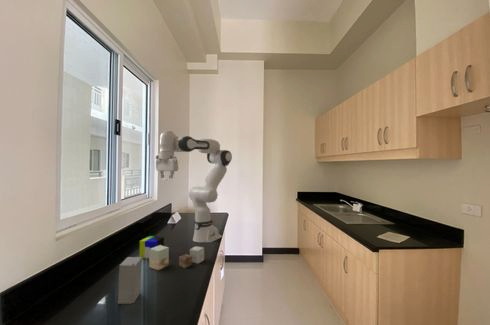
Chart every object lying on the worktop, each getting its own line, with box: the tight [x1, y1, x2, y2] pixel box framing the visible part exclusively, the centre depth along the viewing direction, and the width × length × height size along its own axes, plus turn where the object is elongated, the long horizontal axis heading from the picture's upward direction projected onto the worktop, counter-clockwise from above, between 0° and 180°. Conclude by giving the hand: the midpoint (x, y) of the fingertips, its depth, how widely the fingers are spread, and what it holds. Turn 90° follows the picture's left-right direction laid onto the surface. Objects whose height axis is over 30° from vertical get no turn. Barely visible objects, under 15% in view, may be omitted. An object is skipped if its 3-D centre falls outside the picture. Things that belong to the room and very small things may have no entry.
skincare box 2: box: [189, 245, 205, 264], centre depth 139 cm, size 6×6×7 cm
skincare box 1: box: [117, 256, 143, 305], centre depth 99 cm, size 8×7×16 cm
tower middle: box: [148, 245, 170, 261], centre depth 131 cm, size 7×7×5 cm
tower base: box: [148, 257, 170, 271], centre depth 131 cm, size 7×7×5 cm
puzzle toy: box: [139, 235, 165, 259], centre depth 148 cm, size 10×10×10 cm
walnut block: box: [178, 253, 193, 269], centre depth 133 cm, size 5×5×5 cm
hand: (166, 178), depth 154 cm, fingers open, 8 cm apart
